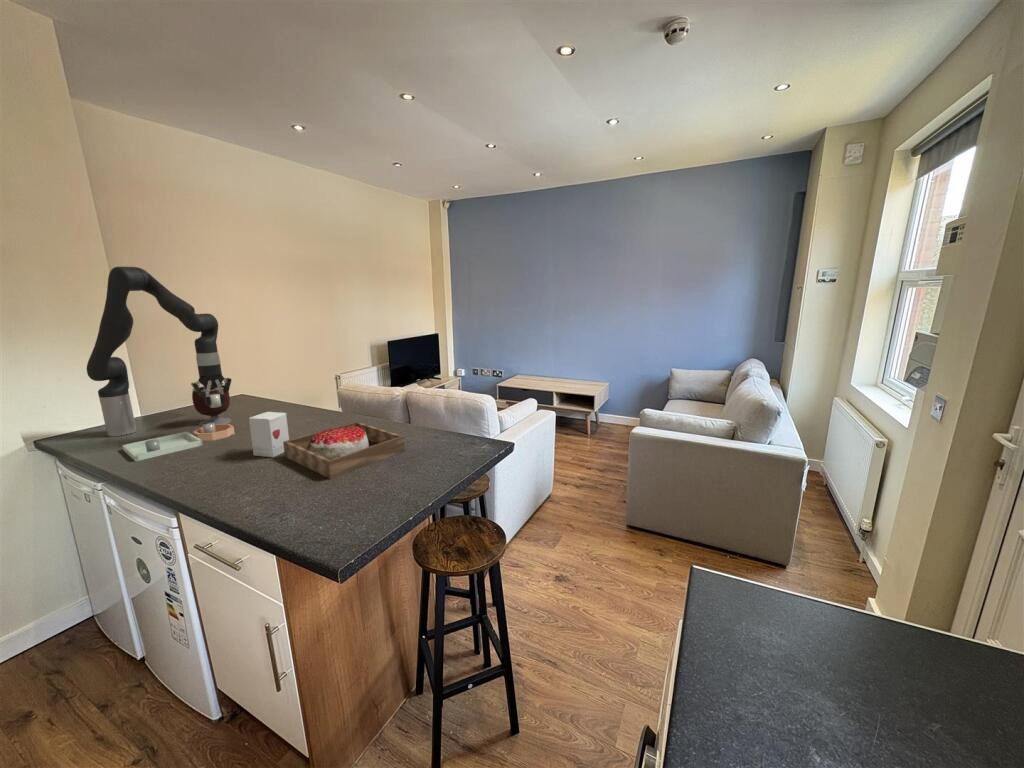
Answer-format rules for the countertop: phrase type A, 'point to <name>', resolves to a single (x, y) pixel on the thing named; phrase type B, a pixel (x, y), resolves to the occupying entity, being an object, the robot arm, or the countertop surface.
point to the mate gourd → (207, 410)
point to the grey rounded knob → (152, 445)
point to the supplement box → (268, 433)
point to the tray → (162, 446)
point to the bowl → (219, 433)
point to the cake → (338, 442)
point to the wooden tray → (347, 463)
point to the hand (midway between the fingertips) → (215, 404)
